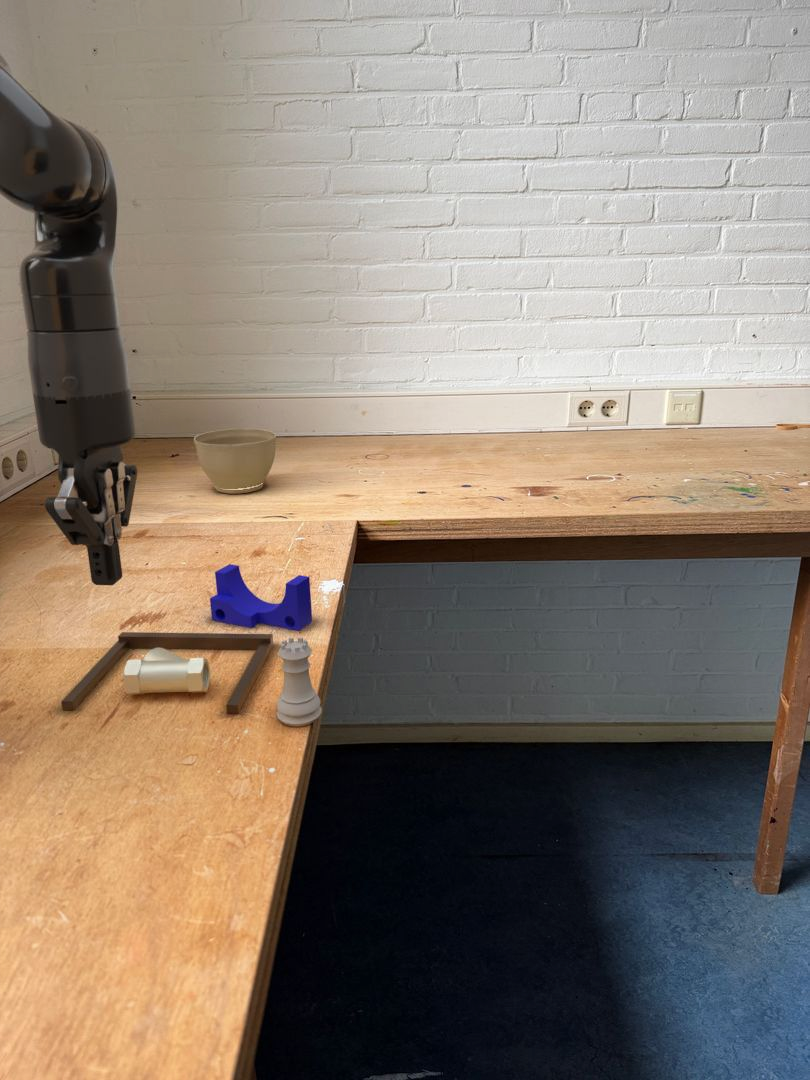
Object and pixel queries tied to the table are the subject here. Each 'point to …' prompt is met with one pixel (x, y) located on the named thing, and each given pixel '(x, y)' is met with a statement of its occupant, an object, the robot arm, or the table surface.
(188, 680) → the pipe fitting
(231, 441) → the planter bowl
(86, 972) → the table surface
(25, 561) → the table surface
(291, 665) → the rook chess piece
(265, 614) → the blue saddle bracket
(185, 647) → the frame
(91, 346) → the robot arm
